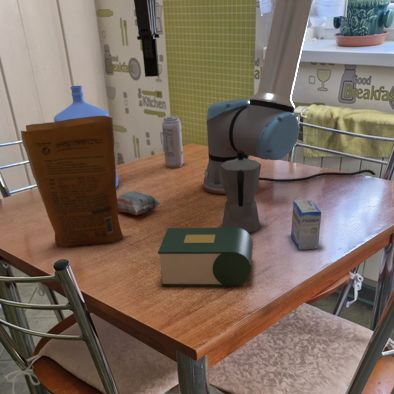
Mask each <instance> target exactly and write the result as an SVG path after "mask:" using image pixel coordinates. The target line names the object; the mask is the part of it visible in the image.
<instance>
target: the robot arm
mask: <svg viewBox="0 0 394 394" xmlns="http://www.w3.org/2000/svg"><path fill="white" fill-rule="evenodd" d="M313 2H314V0H275V5H274V8H273V14H272V19H271V24H270V30H269V33H268V34H269V35H268V39H267V44H266V49H265V52H264V58H263V64H262V69H261V74H260V79H259V84H258V89H257V92H256V93H255V94H254V95H253V96H251V97H250V100H249V99H248V98H238V99H230V100H224V101H219V102H214V103H211V104H210V105H209V106H208V108H207V111H206V112H207V113H206V131H207V133H206V134H207V151H208V162H207V166H206V168H205V169H204V176H203V177H204V178H203V189H204V190H205V191H206V192H208V193H210V194H215V195H221V196H222V195H224V196H227V195H226V194H225V192H224V186H223V180H222V174H221V168H220V165H221V164H223V163H224V162H226V161H230V160H235V159H236V158H238V156H237V152H238V151H243V152H244V156H243V158H246V159H249V160H251V159H250V157H255V158H258V159H260V160H265V161H266V160H270V161H280V160H282V159H284V158H285V157H287V155H289V154H290V153H291V152H292V150H293V149H294V147H295V145H296V144H297V141H298V138H299V134H300V125H299V119H298V117H297V116H296V115H295V108H296V106H295V104H294V102H293V100H292V95H293V91H294V87H295V82H296V78H297V73H298V69H299V64H300V61H301V56H302V50H303V48H304V47H303V46H304V41H305V37H306V33H307V29H308V26H309V25H308V24H309V20H310V15H311V12H312V8H313V7H312V6H313ZM133 4H134V11H135V12H134V13H135V18H136V26H137V34H138V35H137V36H136V38H137V40H138V41H141V50H142V59H143V70H144V77H146V78H150V77H151V78H152V77H160V67H159V65H160V64H159V54H158V43H157V39H160V38H161V33H158V19H157V18H158V17H157V0H133ZM365 173H369V174H371V176H375V175H376V173H375V172H374V171H373V170H371V169H362V170H358V171H355V172H335V171H334V172H332V171H327V172H319V173H315V174H312V175H309V176H305V177H299V178H269V177H261V176H259V181H265V182H271V183H272V182H273V183H291V182H292V183H294V182H302V181H309V180H311V179H315V178H318V177H322V176H343V177H344V176H347V177H348V176H357V175H360V174H365Z"/></svg>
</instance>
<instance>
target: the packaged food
mask: <svg viewBox="0 0 394 394" xmlns="http://www.w3.org/2000/svg"><path fill="white" fill-rule="evenodd" d="M117 203H118V208H117V212H122V213H124V214H125V213H126V214H128V215H133V216H139V215H142V214H145V213H148V212H151V211H153V210H154V209H156V208H157V207H158V206H160V204H161V203H160V202H159V201H158V200H157V199H156V198H155V197H154V196H152V195H151V194H150V195H149V194H146V193H142V192H138V191H135V190H133V191H127V192H124V193H122V194H121V195H119V196H117Z"/></svg>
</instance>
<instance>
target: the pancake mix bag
mask: <svg viewBox="0 0 394 394" xmlns="http://www.w3.org/2000/svg"><path fill="white" fill-rule="evenodd" d="M108 116H109V115H108ZM108 116H91V117H83V118H74V119H68V120H63V121H58V122H54V121H53V122H51V121H50V122H42V123H31V124H27V125H25V130H20V135H21V142H22V145H23V147H24V150H25V153H26V157H27V160H28V163H29V167H30V170H31V173H32V177H33V179H34V180H35V184H36V187H37V189H38V193H39V195H40V197H41V201H42V203H43V205H44V208H45V212H46V214H47V218H48V220H49V222H50V225H51V227H52V229H53V231H54V244H56V245H58V246H61V247H64V248H73V247H83V246H90V245H91V246H92V245H102V244H105V245H106V244H113V243H116V242H118V241H119V240H121V239H123V238H124V234H123V232H122V228H121V225H120V220H119V214H118V212H119V211H117V208H118V203H117V198H118V195H117V187H116V171H117V165H116V154H115V153H116V152H115V134H114V121H113V119H114V118H113V117H111V116H109V117H108Z"/></svg>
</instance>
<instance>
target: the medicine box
mask: <svg viewBox="0 0 394 394" xmlns="http://www.w3.org/2000/svg"><path fill="white" fill-rule="evenodd" d="M321 223H322V211H321V209H320V208H319V207H318V206H317V205H316V203H315V202H314V201H313V200H312V199H297V200H293V201H292V215H291V229H290V237H291V239H292V240H293V242H294V244H295V245H296V247H297V249H298V250H299V251H303V250H304V251H305V250H315V249H319V241H320V233H321Z"/></svg>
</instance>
